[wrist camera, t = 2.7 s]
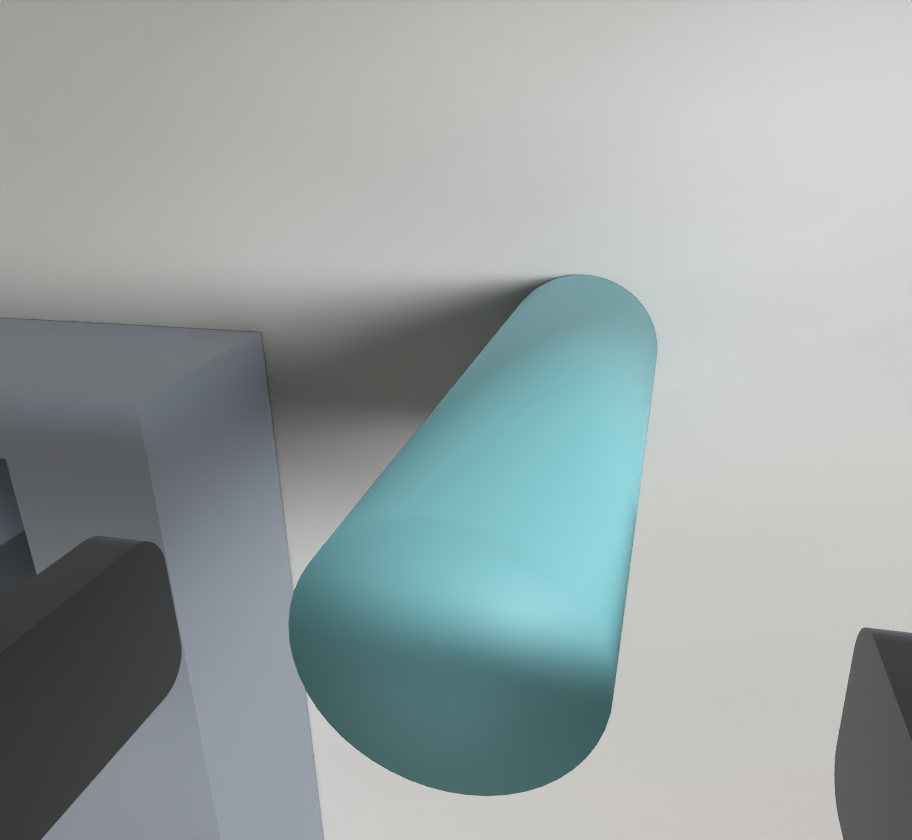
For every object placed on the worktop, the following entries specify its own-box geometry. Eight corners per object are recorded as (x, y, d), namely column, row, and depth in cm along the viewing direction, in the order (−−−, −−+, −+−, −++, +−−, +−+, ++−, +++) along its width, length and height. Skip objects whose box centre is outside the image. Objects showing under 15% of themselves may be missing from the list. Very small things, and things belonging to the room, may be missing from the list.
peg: (506, 272, 17) (270, 499, 8) (662, 277, 17) (623, 539, 7) (505, 413, 19) (305, 761, 9) (651, 424, 18) (604, 824, 8)
